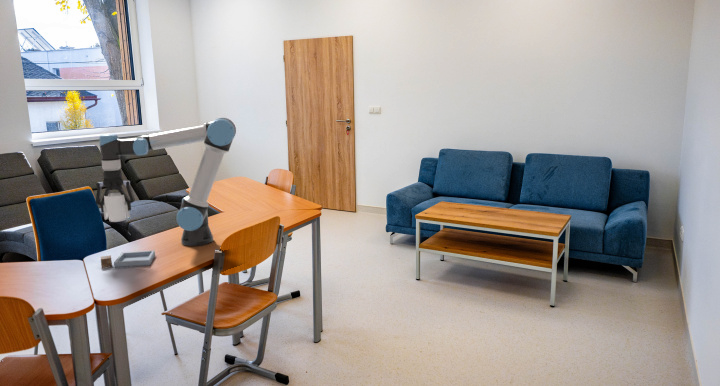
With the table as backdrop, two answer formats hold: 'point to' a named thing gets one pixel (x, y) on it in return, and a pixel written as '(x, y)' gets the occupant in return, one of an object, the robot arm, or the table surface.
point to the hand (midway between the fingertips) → (117, 218)
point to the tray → (134, 259)
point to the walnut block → (106, 261)
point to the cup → (115, 207)
